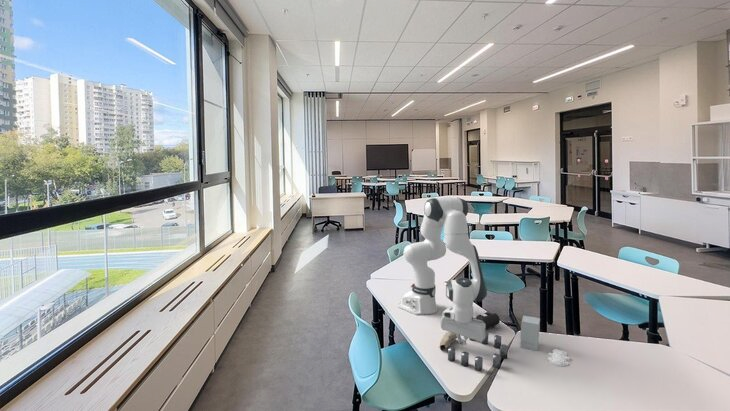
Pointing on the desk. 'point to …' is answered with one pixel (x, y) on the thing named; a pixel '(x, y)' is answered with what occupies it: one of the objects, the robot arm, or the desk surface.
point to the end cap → (489, 319)
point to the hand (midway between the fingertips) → (462, 343)
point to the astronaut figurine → (559, 358)
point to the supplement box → (529, 332)
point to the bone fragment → (447, 339)
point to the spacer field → (479, 359)
